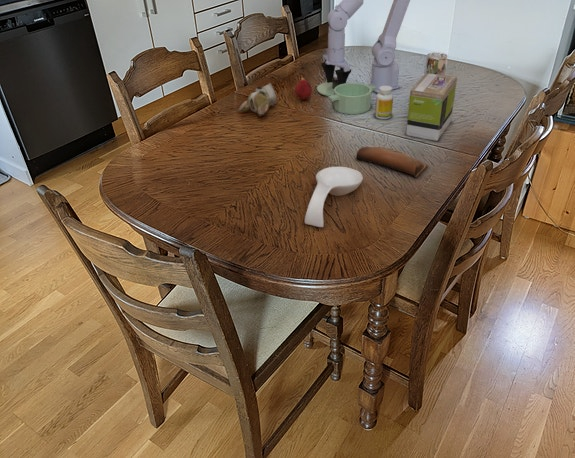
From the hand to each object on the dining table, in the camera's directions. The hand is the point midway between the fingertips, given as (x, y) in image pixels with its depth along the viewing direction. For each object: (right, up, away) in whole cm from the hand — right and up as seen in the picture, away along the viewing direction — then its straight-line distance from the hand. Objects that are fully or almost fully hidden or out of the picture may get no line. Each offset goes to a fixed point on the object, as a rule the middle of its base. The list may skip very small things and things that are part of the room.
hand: (335, 85), depth 180 cm
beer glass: (+32, -7, -8) cm, 34 cm away
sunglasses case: (+11, -34, -42) cm, 55 cm away
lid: (0, -1, +1) cm, 1 cm away
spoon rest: (-6, -45, -56) cm, 72 cm away
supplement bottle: (+14, -15, -18) cm, 27 cm away
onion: (-12, -7, -4) cm, 14 cm away
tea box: (+26, -21, -26) cm, 43 cm away
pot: (+5, -10, -11) cm, 15 cm away
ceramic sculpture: (-27, -12, -11) cm, 31 cm away
